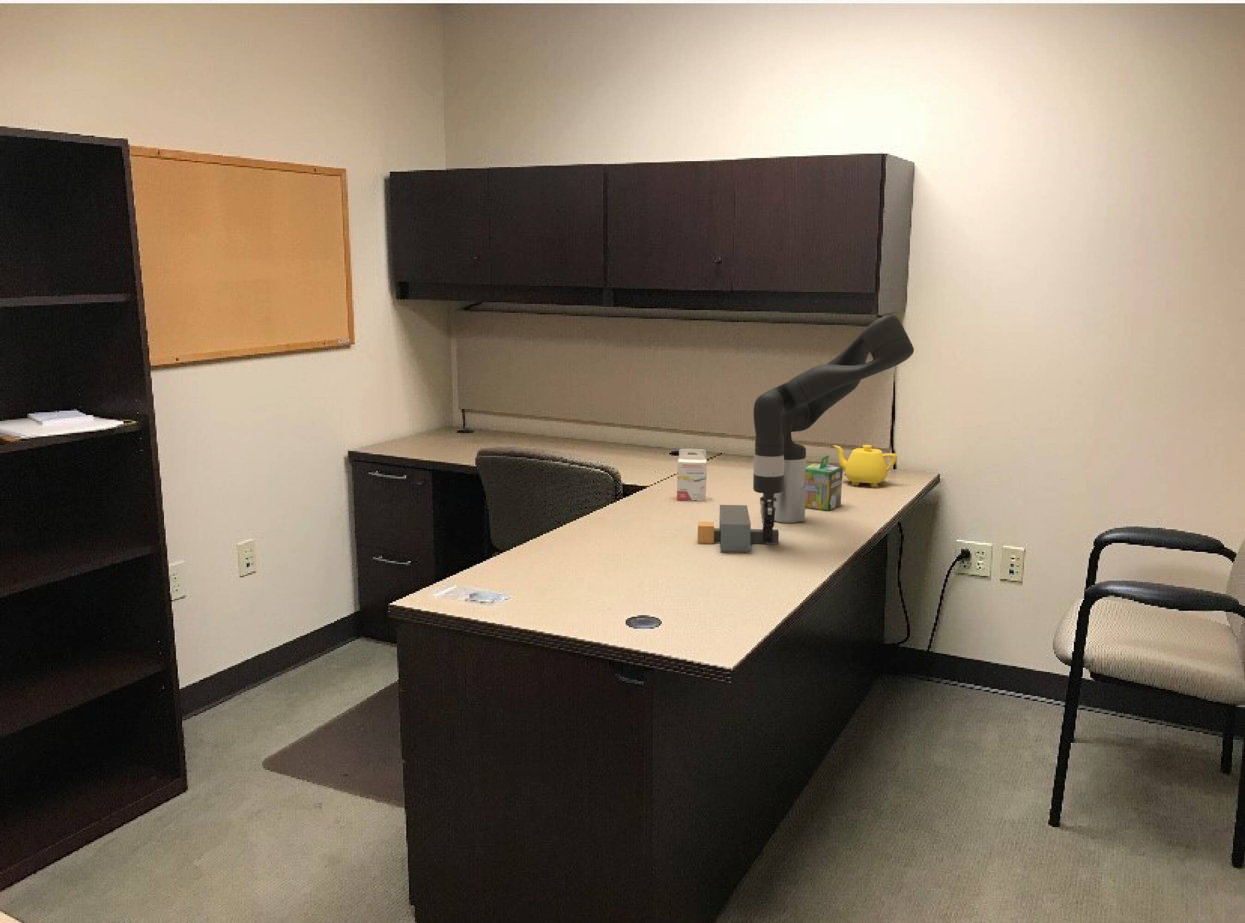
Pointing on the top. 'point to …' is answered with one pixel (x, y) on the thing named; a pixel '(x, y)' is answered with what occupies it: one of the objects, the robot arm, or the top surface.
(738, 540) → the mallet head
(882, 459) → the teapot
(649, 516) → the top surface
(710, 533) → the plug
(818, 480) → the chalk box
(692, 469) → the ink cartridge box
